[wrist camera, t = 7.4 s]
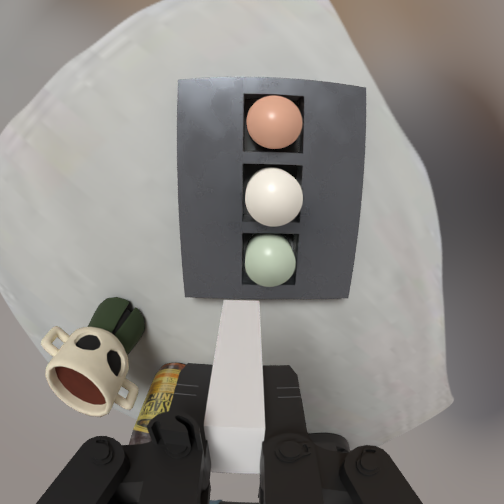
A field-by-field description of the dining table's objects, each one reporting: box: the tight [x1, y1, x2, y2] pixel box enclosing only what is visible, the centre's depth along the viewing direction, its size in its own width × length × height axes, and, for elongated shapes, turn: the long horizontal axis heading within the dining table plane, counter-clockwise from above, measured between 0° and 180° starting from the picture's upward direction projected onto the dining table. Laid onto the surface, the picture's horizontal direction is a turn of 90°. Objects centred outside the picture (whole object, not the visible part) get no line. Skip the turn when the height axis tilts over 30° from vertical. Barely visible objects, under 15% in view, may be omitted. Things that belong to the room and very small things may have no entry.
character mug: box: [41, 297, 145, 417], centre depth 26 cm, size 11×7×13 cm, turn 48°
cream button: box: [245, 167, 303, 227], centre depth 24 cm, size 4×4×4 cm
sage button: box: [245, 233, 296, 287], centre depth 27 cm, size 4×4×4 cm
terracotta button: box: [247, 96, 302, 149], centre depth 23 cm, size 4×4×4 cm
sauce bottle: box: [129, 363, 186, 445], centre depth 26 cm, size 6×6×20 cm
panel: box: [177, 77, 366, 299], centre depth 26 cm, size 20×16×3 cm
